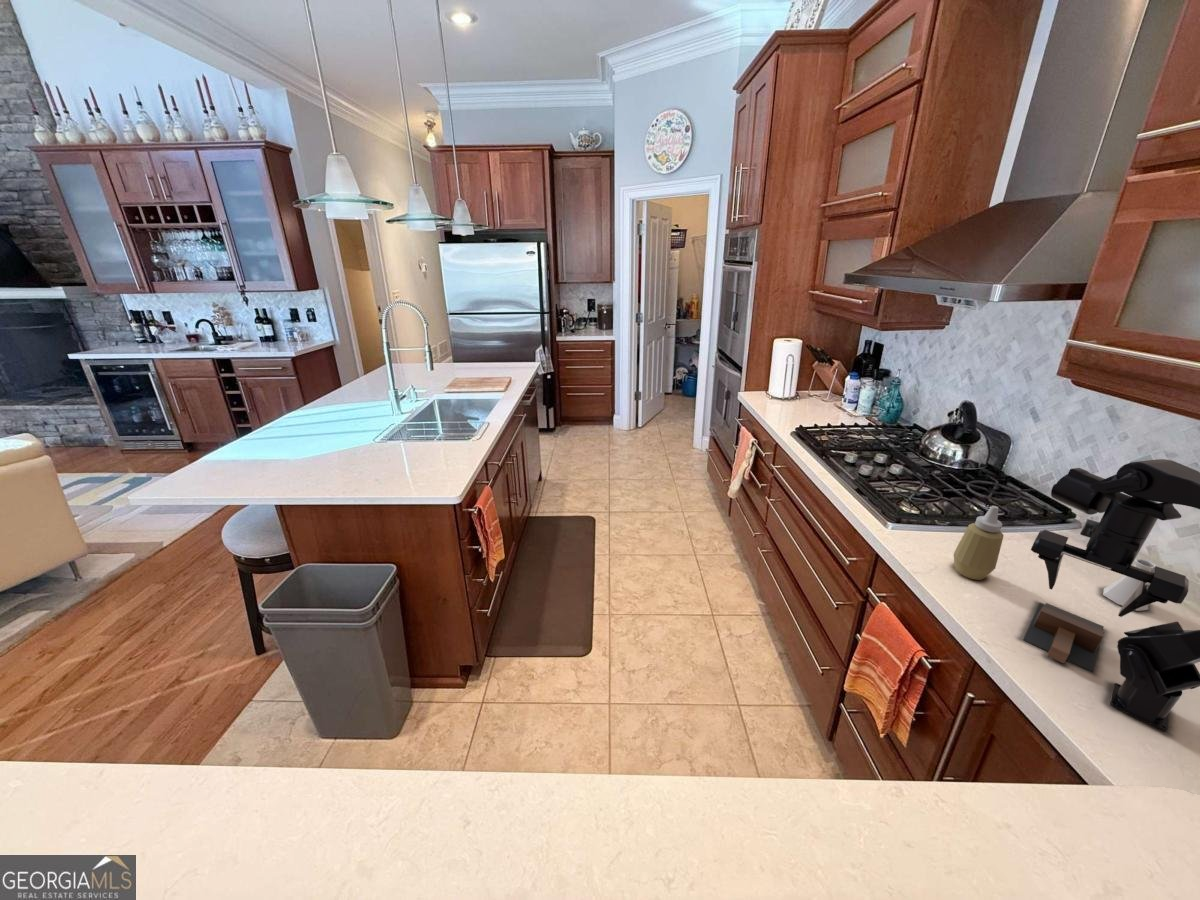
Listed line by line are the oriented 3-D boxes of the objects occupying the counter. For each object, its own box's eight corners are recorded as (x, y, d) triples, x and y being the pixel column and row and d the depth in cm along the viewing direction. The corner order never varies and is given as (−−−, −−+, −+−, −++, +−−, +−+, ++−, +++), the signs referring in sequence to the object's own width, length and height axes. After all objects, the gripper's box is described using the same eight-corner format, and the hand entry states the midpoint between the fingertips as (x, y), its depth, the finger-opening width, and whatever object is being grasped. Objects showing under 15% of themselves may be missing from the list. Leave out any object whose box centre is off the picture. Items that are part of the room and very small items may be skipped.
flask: (1110, 585, 108) (1130, 549, 104) (1155, 605, 102) (1178, 568, 98) (1095, 594, 105) (1115, 557, 101) (1140, 615, 99) (1163, 577, 95)
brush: (1088, 675, 85) (1097, 659, 83) (1024, 645, 91) (1032, 630, 89) (1097, 640, 92) (1106, 625, 91) (1038, 615, 98) (1045, 600, 97)
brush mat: (1092, 672, 86) (1093, 671, 86) (1022, 640, 93) (1023, 638, 93) (1103, 630, 95) (1103, 628, 95) (1039, 603, 102) (1039, 602, 102)
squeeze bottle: (955, 557, 117) (979, 494, 110) (995, 574, 111) (1023, 508, 104) (943, 570, 112) (967, 505, 105) (984, 588, 107) (1012, 520, 99)
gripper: (1208, 535, 78) (1161, 609, 84) (1058, 493, 91) (1028, 559, 97) (1208, 562, 71) (1158, 640, 77) (1047, 512, 84) (1015, 582, 90)
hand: (1084, 601), depth 86 cm, fingers open, 9 cm apart
